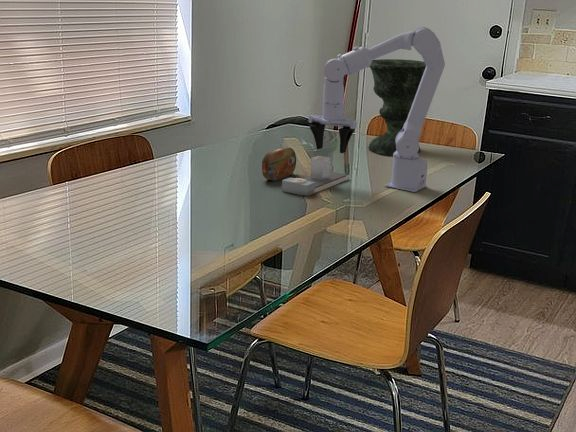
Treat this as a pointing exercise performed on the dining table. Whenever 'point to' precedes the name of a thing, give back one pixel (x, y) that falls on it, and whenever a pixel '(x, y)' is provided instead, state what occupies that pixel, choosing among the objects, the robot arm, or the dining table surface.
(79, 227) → the dining table surface
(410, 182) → the robot arm
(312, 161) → the block
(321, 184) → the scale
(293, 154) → the tin
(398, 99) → the goblet
